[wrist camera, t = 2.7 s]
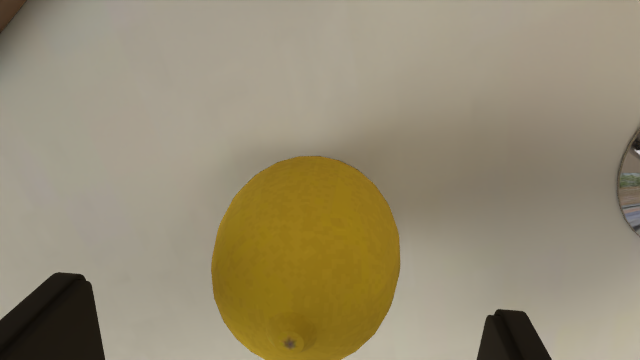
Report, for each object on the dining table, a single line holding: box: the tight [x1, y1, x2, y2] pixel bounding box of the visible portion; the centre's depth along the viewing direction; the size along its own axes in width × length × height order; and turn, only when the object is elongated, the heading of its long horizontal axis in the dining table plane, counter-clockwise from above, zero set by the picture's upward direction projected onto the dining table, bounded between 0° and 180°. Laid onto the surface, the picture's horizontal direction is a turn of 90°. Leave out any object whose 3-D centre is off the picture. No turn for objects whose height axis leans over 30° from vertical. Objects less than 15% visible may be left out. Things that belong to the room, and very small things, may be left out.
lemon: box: [211, 156, 400, 360], centre depth 13 cm, size 6×6×8 cm
